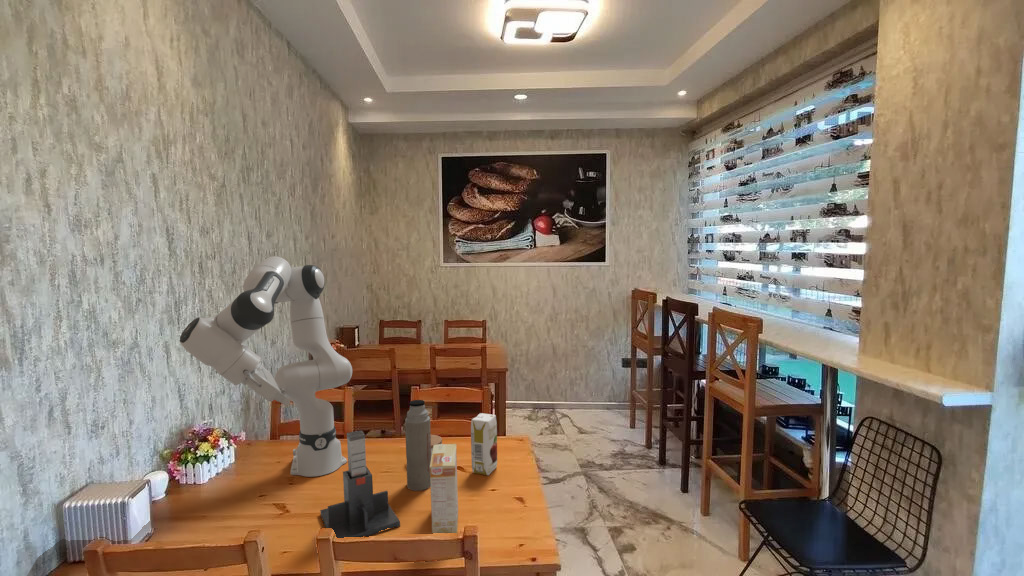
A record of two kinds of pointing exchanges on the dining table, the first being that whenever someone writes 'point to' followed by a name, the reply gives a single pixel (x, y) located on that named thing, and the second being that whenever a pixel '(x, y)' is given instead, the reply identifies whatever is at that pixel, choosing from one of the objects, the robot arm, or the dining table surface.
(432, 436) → the lidded jar
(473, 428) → the juice carton
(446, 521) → the coffeecake box
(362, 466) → the steel column
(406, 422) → the thermos bottle
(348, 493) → the jack stand
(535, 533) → the dining table surface
